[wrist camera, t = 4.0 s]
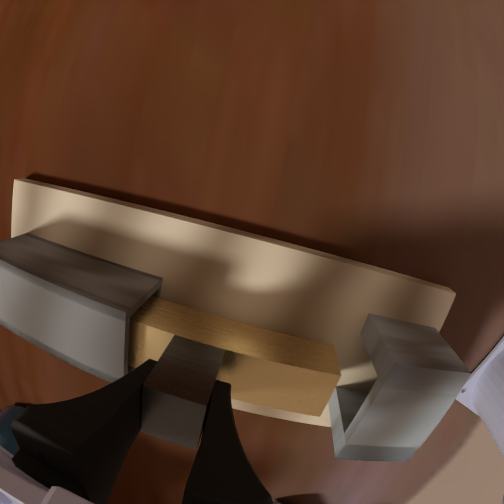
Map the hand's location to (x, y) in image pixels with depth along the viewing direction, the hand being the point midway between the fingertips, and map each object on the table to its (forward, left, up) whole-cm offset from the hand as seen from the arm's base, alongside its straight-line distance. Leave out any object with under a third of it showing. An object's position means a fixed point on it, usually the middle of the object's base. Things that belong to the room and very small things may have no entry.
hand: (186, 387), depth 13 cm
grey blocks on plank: (0, -1, -7) cm, 7 cm away
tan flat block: (+1, -3, -5) cm, 5 cm away
